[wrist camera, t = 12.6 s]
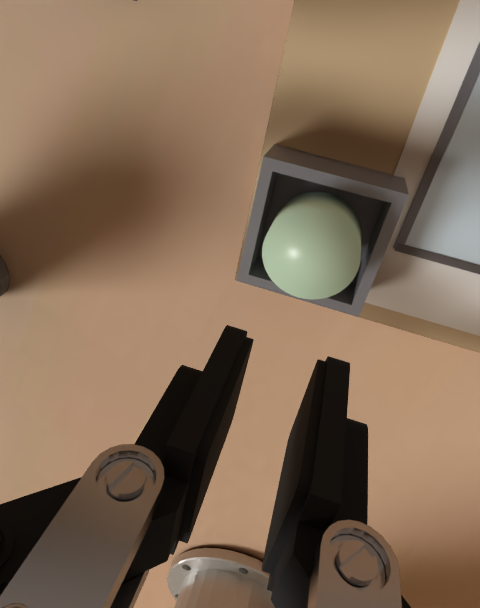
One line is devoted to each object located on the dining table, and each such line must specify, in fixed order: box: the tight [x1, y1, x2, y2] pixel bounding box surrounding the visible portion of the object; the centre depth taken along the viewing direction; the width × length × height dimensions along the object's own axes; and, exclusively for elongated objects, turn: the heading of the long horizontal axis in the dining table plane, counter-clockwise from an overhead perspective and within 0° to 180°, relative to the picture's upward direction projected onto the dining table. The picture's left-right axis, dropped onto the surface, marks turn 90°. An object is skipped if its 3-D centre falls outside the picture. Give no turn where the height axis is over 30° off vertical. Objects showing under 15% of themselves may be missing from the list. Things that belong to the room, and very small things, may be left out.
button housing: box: [237, 144, 409, 317], centre depth 21 cm, size 6×6×3 cm
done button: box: [262, 192, 362, 299], centre depth 19 cm, size 4×4×2 cm
